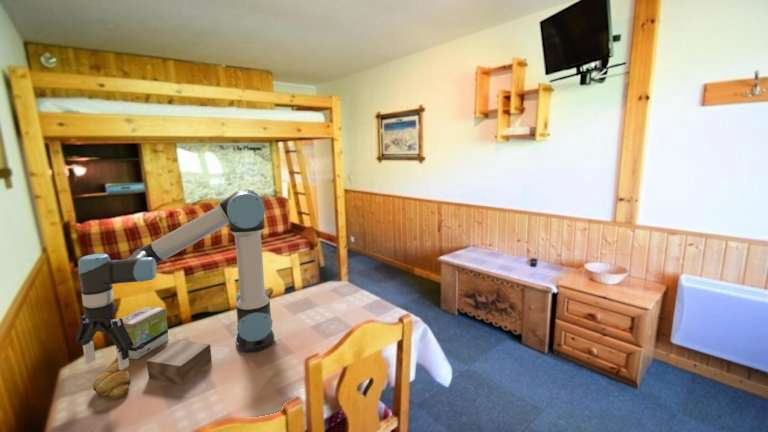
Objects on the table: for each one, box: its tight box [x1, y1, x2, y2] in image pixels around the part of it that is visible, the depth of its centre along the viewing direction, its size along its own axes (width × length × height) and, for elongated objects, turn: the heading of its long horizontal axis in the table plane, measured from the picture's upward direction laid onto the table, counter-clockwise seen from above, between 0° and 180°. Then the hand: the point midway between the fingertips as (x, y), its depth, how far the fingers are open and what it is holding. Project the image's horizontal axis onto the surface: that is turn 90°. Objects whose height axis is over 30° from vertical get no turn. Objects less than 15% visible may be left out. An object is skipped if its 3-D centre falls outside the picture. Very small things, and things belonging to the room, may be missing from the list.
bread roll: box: [92, 360, 131, 400], centre depth 113 cm, size 13×10×8 cm
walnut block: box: [146, 339, 212, 386], centre depth 125 cm, size 14×14×7 cm
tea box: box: [115, 305, 169, 360], centre depth 138 cm, size 15×10×15 cm, turn 168°
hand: (107, 364), depth 112 cm, fingers open, 13 cm apart
